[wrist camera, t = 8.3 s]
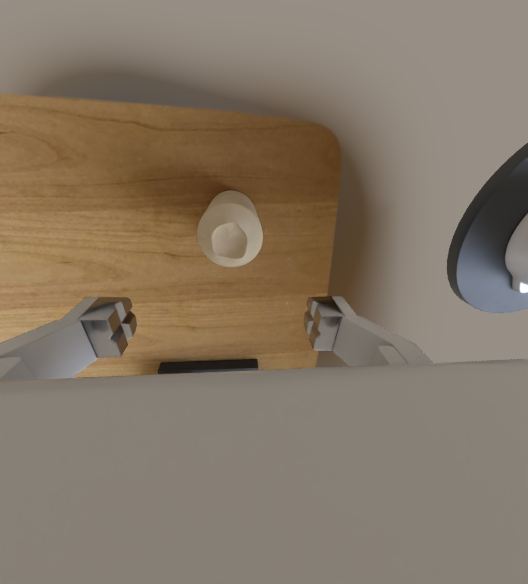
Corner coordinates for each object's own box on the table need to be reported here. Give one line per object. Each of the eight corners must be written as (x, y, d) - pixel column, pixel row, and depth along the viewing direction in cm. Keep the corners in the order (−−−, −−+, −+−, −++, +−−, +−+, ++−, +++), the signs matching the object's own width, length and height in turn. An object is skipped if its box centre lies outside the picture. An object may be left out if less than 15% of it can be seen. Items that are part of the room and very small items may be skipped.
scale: (257, 357, 39) (259, 373, 36) (254, 407, 46) (255, 424, 43) (160, 360, 37) (153, 378, 34) (173, 412, 44) (168, 430, 41)
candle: (264, 222, 27) (277, 252, 19) (227, 246, 28) (222, 285, 20) (238, 179, 24) (239, 190, 16) (198, 207, 25) (178, 233, 17)
